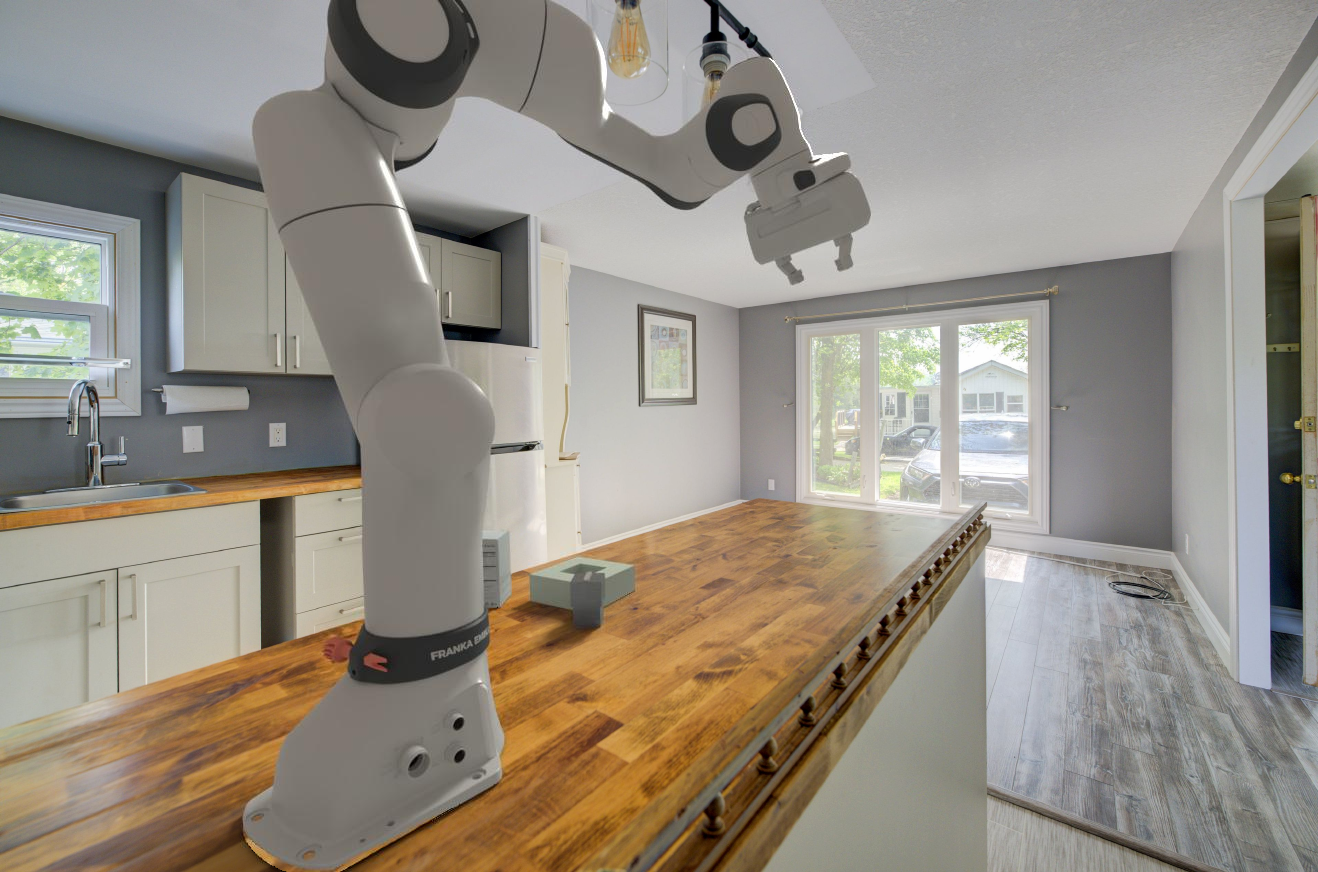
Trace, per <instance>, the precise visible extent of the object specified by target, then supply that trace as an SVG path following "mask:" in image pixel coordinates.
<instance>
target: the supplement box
mask: <svg viewBox="0 0 1318 872" xmlns="http://www.w3.org/2000/svg"><path fill="white" fill-rule="evenodd" d="M510 536H511V535H510V530H508V529H507V530H506V529H488V530H487V529H486V530H485V529H483V542H482V550H483V584H484V605H485V606H486V607H487V608H488V609H499V608H501V607H502V606H503V604H504V603H505V602H506V601H507V600H508V599H509V598H510V597H511V595H512V573H511V572H512V569H511V567H512V566H511V543H510V542H511V541H510V538H511V537H510ZM497 607H498V608H497Z"/></svg>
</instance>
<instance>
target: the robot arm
mask: <svg viewBox="0 0 1318 872" xmlns="http://www.w3.org/2000/svg"><path fill="white" fill-rule="evenodd" d="M326 17H327V18H326V19H327V21H326V22H327V34H326V45H325V52H324V60H323V61H324V67H323V68H324V71H323V72H324V73H323V74H324V77H323V79H324V80H323V83H322V84H321V85H320V86H318V87H316V88H313V89H311V90H308V89H307V90H306V89H305V90H304V89H303V90H302V89H301V90H299V89H297V90H291V91H285V92H283V93H280V94H277V95H274V96H273V97H271V98H269V99H267V100H265V102H264V103H262V104H261V105H260V106H259V107H258V109H257V111H255V114H254V117H253V119H252V126H251V127H252V128H251V131H252V132H251V134H252V140H253V145H254V154H255V157H256V162H257V168H258V172H259V177H260V180H261V184H262V188H263V191H264V195H265V199H266V202H267V205H268V208H269V211H270V212H269V213H270V214H271V217H272V220H273V223H274V226H275V228H276V232H277V233H278V236H279V239H280V241H281V243H282V246H283V249H284V252H285V255H286V256H287V258H288V261H289V264H290V267H291V270H292V272H293V275H294V276H295V279H296V282H297V285H298V287H299V290H300V292H301V295H302V297H303V299H304V302H305V304H306V307H307V309H308V312H309V315H310V317H311V319H312V322H313V326H314V327H315V330H316V334H317V335H318V337H319V338H318V339H319V340H320V344H321V345H322V349H323V351H324V353H325V357H326V359H327V362H328V364H329V368H330V370H331V373H332V376H333V377H334V381H335V383H336V386H337V388H338V391H339V393H340V396H341V399H342V401H343V404H344V406H345V410H346V413H347V415H348V417H349V419H350V422H351V425H352V428H353V431H354V432H355V436H356V438H357V440H358V443H359V446H360V467H361V469H360V471H361V472H360V473H361V479H360V480H361V555H362V557H361V559H362V577H363V578H362V581H363V582H362V583H363V608H364V612H363V613H364V623H362V625H361V626H360V629H359V631H358V635H357V636H356V639H355V642H354V643H353V641H352V640H349V639H344V638H343V637H340V636H332V637H330V638H329V639H326V641H325V644H324V645H323V646H322V650H321V652H322V653H323V655H322V656H323V657H325V659H328V660H331V661H334V662H336V663H344V662H346V661H348V663H347V667H346V669H347V671H346V672H345V673H344V675H342V676H341V678H340V679H338V680H337V682H336V683H335V684H334V685H333V686H332V687H331V688H330V689H329V691H328V692H326V694H324V696H323V697H322V699H321V700H320V701H319V702H317V704H316V705H315V706H314V707H313V708H312V709H311V710H310V711H309V712H308V713H307V714H306V715H305V716H304V717H303V718H302V719H301V720H300V721H299V723H298V724H296V726H295V727H294V728H293V729H292V730H291V731H290V732H289V733H287V735H286V737H285V738H284V740H283V741H282V744H281V746H280V749H279V751H278V754H277V755H278V756H277V759H276V762H275V764H276V765H275V770H274V776H273V785H271V786H270V787H268V788H266V789H264V790H263V791H262V792H261V793H259V794H258V795H255V796H254V797H253V798H252V799H250V800H249V801H248V802H246V805H245V807H244V809H243V814H242V820H243V821H242V822H243V827H244V830H245V832H246V834H247V836H248V837H249V839H250V840H252V842H254V843H255V845H257V846H259V847H260V848H261V849H263V850H265V851H266V852H267V853H268V854H271V855H272V856H274V857H276V858H278V859H279V860H281V861H283V862H285V863H286V864H287V863H288V864H290V865H293V866H296V867H300V868H305V869H310V870H334V869H335V868H336V867H339V866H341V865H342V864H345V863H347V862H348V861H349V860H350V859H352V858H355V857H356V856H357V855H360V854H361V853H364V852H366V851H368V850H370V849H373V848H374V847H376V846H379V845H382V844H383V843H385V842H387V841H390V840H391V839H393V838H395V837H398V836H400V835H402V834H403V833H406V832H407V831H409V830H410V829H411V828H414V827H416V826H417V825H419V824H421V823H422V822H425V820H428V819H431V818H432V817H433V818H434V816H437V815H439V814H442V813H443V812H445V811H447V810H449V809H451V808H453V809H455V808H456V807H458V806H459V804H460V805H461V804H463V803H464V802H467V801H468V800H470V799H472V798H473V797H475V796H478V794H481V793H483V792H484V791H486V790H488V789H489V788H492V787H493V786H495V785H496V784H498V783H499V782H500V781H501V779H502V777H503V770H502V769H503V768H502V762H501V758H500V757H501V754H502V752H503V749H504V745H505V733H504V730H503V728H502V726H501V723H500V720H499V716H498V713H497V710H496V706H495V699H494V697H493V689H492V686H491V678H490V671H489V661H488V652H487V649H488V647H489V645H490V643H491V638H490V637H491V636H490V629H491V628H490V619H489V617H490V615H489V608H487V607H486V606H485V605H484V584H483V550H482V542H483V530H484V522H485V521H484V520H485V512H486V505H487V499H488V498H487V497H488V490H489V480H490V479H489V478H490V470H491V469H490V466H491V453H492V452H491V451H492V445H493V442H494V440H495V435H496V416H495V413H494V409H493V407H492V405H491V402H490V399H489V398H488V397H487V395H486V393H485V392H484V391H483V390H482V388H481V387H480V386H479V385H478V384H477V383H476V382H475V381H473V380H472V379H471V378H470V377H469V376H467V375H466V374H465V373H463V372H462V371H460V370H458V369H455V368H453V367H452V366H451V361H450V356H449V355H448V350H447V349H448V348H447V345H446V341H445V336H444V331H443V326H442V321H441V317H440V310H439V301H438V296H437V295H438V294H437V292H436V289H435V287H434V286H435V285H434V283H433V280H432V278H431V277H432V276H431V275H430V271H429V269H428V266H427V263H426V260H425V258H424V255H423V252H422V249H421V246H420V243H419V240H418V237H417V235H416V232H415V229H414V226H413V223H412V220H411V217H410V214H409V212H408V209H407V206H406V204H405V203H406V202H405V201H404V199H403V196H402V193H401V191H400V188H399V186H398V183H397V176H396V173H398V172H399V171H401V170H404V169H408V168H411V167H414V166H415V165H417V164H419V163H420V162H422V161H423V160H424V159H426V158H427V157H428V156H429V155H430V154H431V153H432V151H434V149H435V147H436V146H437V143H438V140H439V137H440V135H441V133H442V132H443V130H444V129H445V127H446V126H447V124H449V122H450V118H451V117H452V113H453V111H454V107H455V104H456V99H458V98H459V99H460V98H466V97H468V98H469V97H470V98H471V97H472V98H480V99H484V100H488V101H491V102H493V103H495V104H497V105H499V106H501V107H504V108H506V109H508V110H510V111H513V112H515V113H518V114H520V115H522V116H525V117H528V118H529V119H532V120H534V121H536V122H538V123H540V124H542V125H544V126H545V127H548V128H550V129H551V130H552V131H554V132H555V133H556V134H557V135H558V137H560V139H561V140H563V142H565V143H566V144H568V145H570V146H571V147H572V148H575V149H576V150H577V151H579V152H581V153H583V154H585V155H586V156H588V157H590V158H592V159H594V160H596V161H597V162H600V163H602V164H604V165H607V166H608V167H609V168H611V169H614V170H616V171H618V172H620V173H622V174H624V175H626V176H628V177H630V178H632V179H634V180H636V181H637V182H639V183H641V184H642V185H644V186H645V187H646V188H648V190H650V191H652V192H653V193H654V195H656V196H657V198H659V199H660V200H662V201H663V202H664V203H666V204H667V205H668V206H670V207H672V208H674V209H677V210H680V211H690V210H691V211H692V210H694V209H698V207H700V206H701V205H702V204H704V203H705V202H706V201H708V200H709V199H711V198H712V197H713V196H714V195H716V194H717V193H719V192H721V191H723V190H724V189H726V188H728V187H729V186H730V185H733V184H734V183H735V182H736V181H738V180H740V179H741V178H743V177H745V176H746V175H749V178H750V182H751V183H752V186H753V189H754V191H755V194H756V197H757V199H758V200H756V201H755V202H751V203H749V204H748V205H747V206H746V209H745V212H744V215H743V220H744V224H745V229H746V236H747V239H748V242H749V245H750V250H751V253H752V255H753V258H754V260H755V262H757V263H758V264H759V265H760V266H763V265H766V264H769V263H772V262H775V265H776V267H777V269H779V270H780V271H781V272H782V273H783V274H784V275H785V276H787V279H788V281H789V284H790V285H791V286H795V285H798V284H801V283H802V282H803V281H804V280H805V277H804V275H803V271H802V269H797V268H796V267H795V265H793V264H792V262H791V261H793V259H792V255H794V254H796V253H799V252H802V251H805V250H808V249H811V248H813V247H817V246H819V245H821V244H825V243H827V242H830V241H833V244H834V245H835V248H837V247H838V248H839V249H838V258H837V259H835V260H834V264H835V266H836V269H837V271H838V272H843V271H846V270H849V269H851V268H853V266H854V261H853V259H852V256H851V252H852V247H853V246H852V245H853V240H854V239H853V235H852V233H855V232H858V231H859V230H861V229H863V228H864V227H866V226H867V225H869V223H870V221H871V216H872V212H871V207H870V205H869V202H868V198H867V196H866V193H865V191H864V189H863V186H862V183H861V182H860V180H859V178H858V177H857V175H856V174H854V173H853V172H852V171H848V170H850V169H851V167H852V161H851V159H850V156H849V154H848V153H846V152H839V153H833V154H832V153H831V154H822V155H820V154H819V155H813V152H812V149H811V146H810V144H809V143H808V141H807V140H806V139H805V137H804V135H803V132H802V130H801V129H802V128H801V119H800V114H799V111H798V107H797V105H796V102H795V100H794V97H793V95H792V92H791V90H790V88H789V85H788V83H787V81H786V79H785V77H784V75H783V73H782V71H781V70H780V68H779V67H778V65H777V64H776V62H775V61H774V60H773V59H772V58H771V57H768V56H753V57H750V58H747V59H746V60H743V61H741V62H738V63H736V64H734V65H733V66H731V67H729V69H728V70H727V71H726V72H724V73H723V75H722V77H721V78H720V81H719V86H718V88H717V91H716V92H715V93H714V95H713V96H712V98H711V99H710V100H709V102H708V103H706V105H705V106H704V107H703V108H702V109H701V110H700V111H699V112H698V113H696V114H695V115H694V116H693V117H692V118H691V119H690V120H689V121H688V122H687V123H685V124H684V125H683V126H682V127H681V128H679V129H678V130H677V131H675V132H673V133H670V134H666V135H655V134H654V133H651V132H650V131H648V130H646V129H644V128H642V127H641V126H639V125H637V124H636V123H634V122H632V121H630V120H628V119H627V118H625V117H623V116H622V115H620V114H619V113H617V112H615V111H614V110H613V109H612V108H611V107H610V105H609V104H608V102H607V101H606V92H607V91H606V90H607V79H608V78H607V77H608V76H607V74H608V72H607V71H608V70H607V62H606V61H607V60H606V57H605V53H604V51H603V47H602V44H601V43H600V40H599V39H598V36H597V34H596V33H595V31H594V29H593V28H592V27H591V26H590V25H589V24H588V23H587V22H586V21H584V20H583V18H581V17H580V16H579V15H577V14H576V13H574V12H573V11H571V10H570V9H568V8H566V7H565V6H563V5H561V4H559V3H557V2H555V1H554V0H553V1H552V0H330V1H329V5H328V9H327V16H326ZM494 784H495V785H494ZM454 807H455V808H454ZM451 810H452V809H451ZM449 811H450V810H449ZM260 815H263V817H262V818H261V819H259V820H256V821H252V819H253V818H254V817H256V816H260ZM442 815H443V814H442ZM242 822H241V823H242ZM308 853H315V854H314V856H312V857H311V858H309V859H302V858H303V856H304V855H306V854H308Z"/></svg>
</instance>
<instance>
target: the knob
mask: <svg viewBox="0 0 1318 872" xmlns="http://www.w3.org/2000/svg"><path fill="white" fill-rule="evenodd" d="M570 599H571V607H573V610H572V628H578V629H579V628H581V629H582V628H601V627H602V623H603V620H604V616H605V615H604V614H605V613H604V611H605V610H604V608H605V607H603V601H604V599H605V573H592V571H591V572H587V573H575V575H574V576H573V578H572V580H571V582H570Z"/></svg>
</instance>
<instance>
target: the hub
mask: <svg viewBox="0 0 1318 872" xmlns="http://www.w3.org/2000/svg"><path fill="white" fill-rule="evenodd" d="M591 571H592V573H605V599H604V601H603V608H605V607H607V606H609V605H611V604H613V603H614V602H617V601H619V600H620V598H621V599H623V598H625V597H626V596H628V595H630V594H632V593H633V592H632V591H634V590H635V591H636V567H635V565H634V564H627V563H622V562H615V561H609V560H604V559H603V560H602V559H596V558H588V557H582V556H576V557H574V558H571V559H568V560H565V561H561V562H560V563H556V564H554V565H551V566H549V567H545V568H542V569H540V570H537V571H534V572H532V573H529V576H528V577H529V601H530V602H533V603H538V604H541V605H547V606H553V607H556V608H561V609H566V610H571V611H573V607H571V599H570V582H571V580H572V578H573V576H574V575H575V573H587V572H591ZM635 591H634V592H635ZM631 592H632V593H631ZM629 593H630V594H629ZM627 594H628V595H627ZM625 595H626V596H625ZM622 597H623V598H622ZM618 599H619V600H618ZM616 600H617V601H616Z"/></svg>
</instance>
